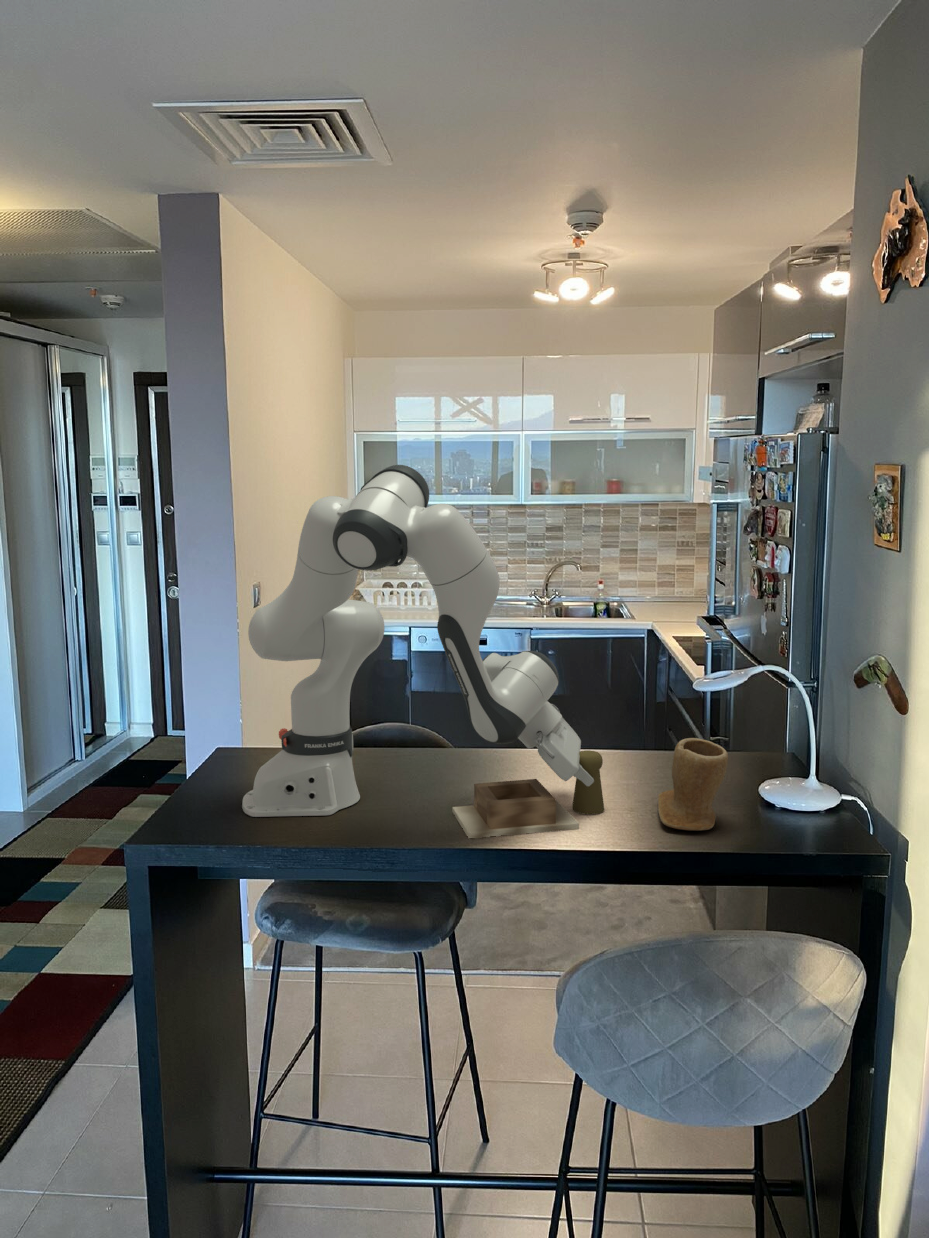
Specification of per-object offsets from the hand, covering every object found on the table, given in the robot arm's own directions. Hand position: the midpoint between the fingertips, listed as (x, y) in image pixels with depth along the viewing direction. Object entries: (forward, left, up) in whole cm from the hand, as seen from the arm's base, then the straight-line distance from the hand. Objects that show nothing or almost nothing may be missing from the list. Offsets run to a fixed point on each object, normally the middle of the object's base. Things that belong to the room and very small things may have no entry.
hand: (591, 778), depth 179 cm
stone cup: (+16, -10, -6) cm, 19 cm away
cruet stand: (-15, -2, -6) cm, 17 cm away
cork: (-1, 0, -6) cm, 6 cm away
